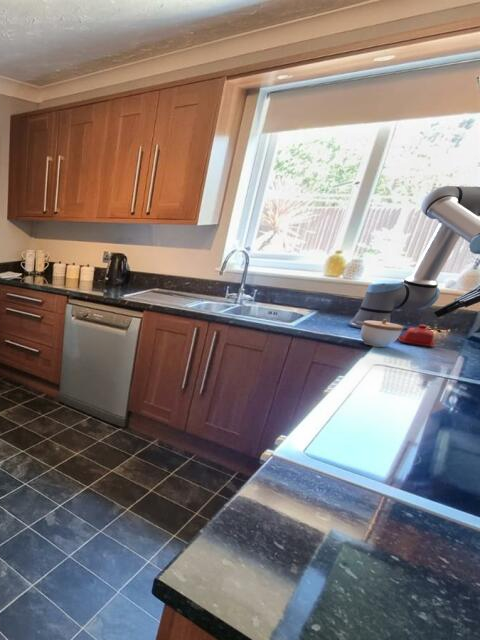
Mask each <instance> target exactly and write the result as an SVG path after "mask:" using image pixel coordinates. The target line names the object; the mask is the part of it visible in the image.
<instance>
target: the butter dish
mask: <svg viewBox="0 0 480 640" xmlns="http://www.w3.org/2000/svg"><path fill="white" fill-rule="evenodd" d="M427 327H428V325H427V324H422V323H421V324H419V325H418V327H408V328H409V329H407V330H405V331H404V333H403V334H402V335H400V336H399V337H398V341H400V342H402V343H403V344H405V345H407V344H408V345H411V346H412V345H413V346H419V347H423V348H427V347H436V342H435V341H434V336H435V333H434V331H433V330H428V328H427Z"/></svg>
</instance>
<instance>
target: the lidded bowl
mask: <svg viewBox="0 0 480 640" xmlns="http://www.w3.org/2000/svg"><path fill="white" fill-rule="evenodd" d="M403 328H405V327H404V325H401V324H398V323H393V322H390V323H388V322H387V319H383V321H370V320H368V321H364V322H363V326H362V328H361V329H360V339H361V340H362V341H363V344H364V345H368V346H371V347H378V348H387V347H388V346H390V345H392V344H394V343H395V342H397V340H399V338H398V337H399V336H401V334H402V332H403V331H404V330H403Z"/></svg>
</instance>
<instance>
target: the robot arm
mask: <svg viewBox="0 0 480 640" xmlns="http://www.w3.org/2000/svg"><path fill="white" fill-rule="evenodd" d="M420 210H421V212H422V213H423V214H424V215H425V216H426V217H428V218H429V219H432V220H437V221H438V225H437V226H436V228H435V230H434V232H433V234H432V236H431V237H430V240H429V241H428V244H427V246H426V247H425V249H424V251H423V252H422V255H421V257H420V259H419V260H418V261H417V262H418V263H417V264H416V266H415V268H414V270H413V272H412V274H411V275H410V276H408V277H405V278H404V280H403V281H402V280H397V279H378V280H373V281H371V282H370V283H369V285H368V286H367V288H366V290H365V291H366V292H365V295H364V297H363V300H362V302H361V304H360V307H359V310H358V311H357V312H356V314H355V315H354V317H353V318H352V319H351V320H350V321H349V322H348V326H350V327H352V328H355V329H360V330H361V328H362V326H363V322H364V321H368V320H370V321H383V319H387V322H388V323H391V316H392V312H393V309H400V310H402V309H403V310H411V311H414V310H415V311H416V310H425V309H427V308H430V307H432V306H433V305H435V303H436V302H437V301H438V300H439V298H440V294H441V293H440V292H441V291H440V288H439V287H438V286H439V282H438V281H437V279H438V277H439V275H440V273H441V271H442V270H443V268H444V267H445V265H446V263H447V261H448V259H449V257H450V256H451V254H452V252H453V250H454V249H455V247H456V245H457V243H458V241H459V240H460V238H461V239H463V240H465V241H466V242H467V243H469V245H468V248H469V251H470V252H471V253H472V254H475V255H480V186H464V185H463V186H460V185H459V186H457V185H445V186H440V187H437V188H435V189H433V190H431V191H429V192H428V193H427V194H426V195H425V196H424V197H423V199H422V200H421V203H420ZM453 300H454V301H452V302H450V303H448V304H445V305H444V306H441V307H439V308H438V309H435V310H432V313H433V314H434V316H436V317H437V318H440V317H443V316H446V315H447V314H449V313H453V312H454V311H457V310H458V309H461V308H468V307H470V306H473V305H475V304H478V303H480V284H479V285H478V286H476V287H475V288H472V289H470V290H469V291H467V292H466V293H462V294H461V295H460V296H458V297H456V298H454V299H453ZM409 328H410V327H404V328H403V330H402V331H407V329H409ZM434 328H435V327H431V329H428V328H427V329H428V330H431V331H434V330H433V329H434ZM436 332H438V333H442V331H441V329H439V330H436Z"/></svg>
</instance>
